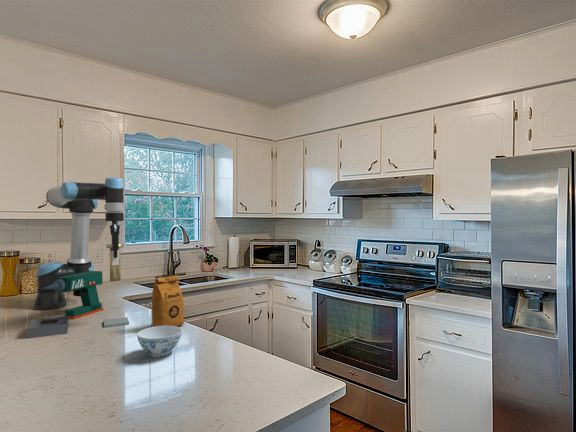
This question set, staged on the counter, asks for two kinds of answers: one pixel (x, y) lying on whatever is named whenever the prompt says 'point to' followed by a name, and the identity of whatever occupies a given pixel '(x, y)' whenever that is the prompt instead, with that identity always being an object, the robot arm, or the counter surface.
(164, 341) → the chinaware
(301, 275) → the counter surface
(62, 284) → the power tool
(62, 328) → the chuck block
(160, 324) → the coffee package
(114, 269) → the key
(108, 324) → the pad
